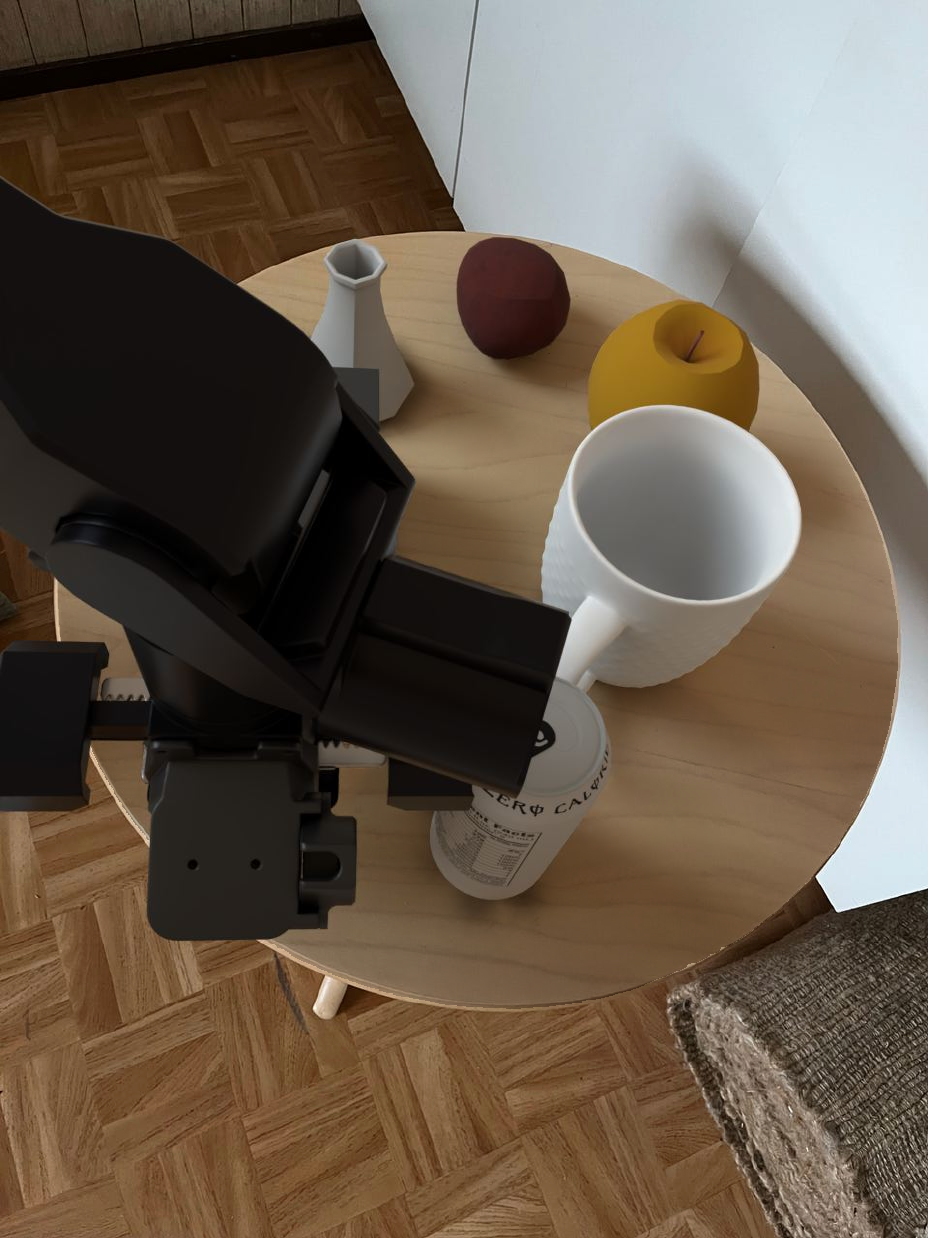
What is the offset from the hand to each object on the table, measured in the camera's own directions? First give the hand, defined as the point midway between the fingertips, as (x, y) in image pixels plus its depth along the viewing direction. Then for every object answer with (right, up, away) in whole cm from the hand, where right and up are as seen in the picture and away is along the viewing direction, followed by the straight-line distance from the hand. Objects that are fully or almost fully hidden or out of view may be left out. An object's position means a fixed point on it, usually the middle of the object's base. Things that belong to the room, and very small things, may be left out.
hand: (258, 793), depth 46 cm
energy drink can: (+11, -3, +4) cm, 12 cm away
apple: (+20, +18, +17) cm, 32 cm away
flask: (+2, +23, +17) cm, 28 cm away
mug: (+17, +7, +10) cm, 21 cm away
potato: (+12, +27, +21) cm, 36 cm away
